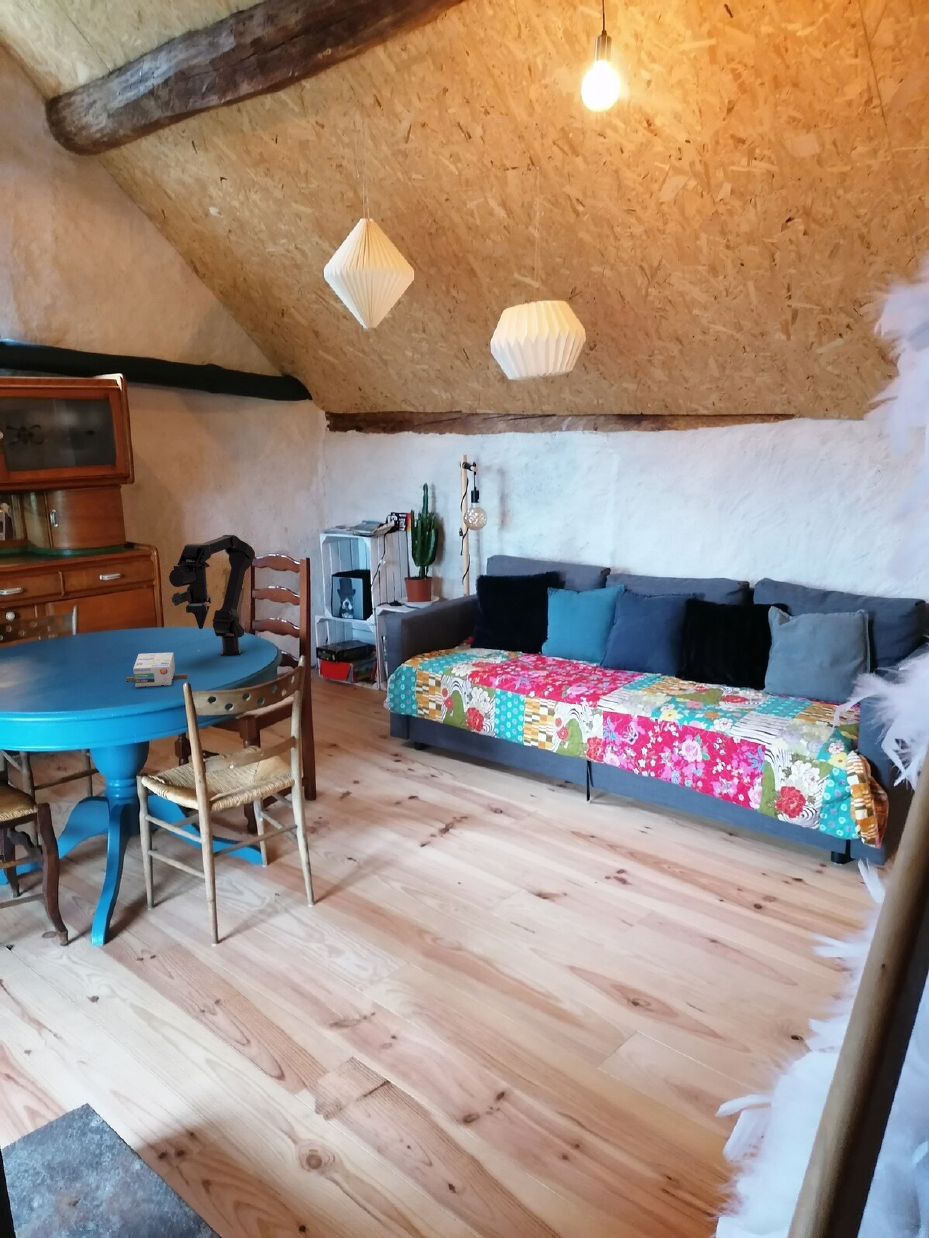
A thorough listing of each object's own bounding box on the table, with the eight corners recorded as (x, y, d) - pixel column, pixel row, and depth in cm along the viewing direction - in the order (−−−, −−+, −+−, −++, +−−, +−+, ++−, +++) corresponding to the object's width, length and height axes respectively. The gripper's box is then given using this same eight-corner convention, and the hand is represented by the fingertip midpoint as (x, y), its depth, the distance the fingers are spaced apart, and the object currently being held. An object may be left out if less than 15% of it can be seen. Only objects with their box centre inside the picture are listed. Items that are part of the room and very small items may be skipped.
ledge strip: (127, 680, 258) (127, 676, 258) (187, 677, 262) (187, 673, 261) (126, 681, 257) (126, 678, 256) (186, 678, 260) (186, 675, 260)
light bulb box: (140, 672, 260) (134, 688, 251) (137, 653, 258) (132, 668, 248) (176, 670, 262) (171, 686, 253) (173, 651, 260) (169, 666, 250)
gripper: (176, 579, 280) (179, 624, 283) (167, 587, 262) (171, 636, 265) (210, 577, 282) (213, 622, 285) (204, 586, 264) (207, 634, 267)
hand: (200, 628), depth 275 cm, fingers closed
